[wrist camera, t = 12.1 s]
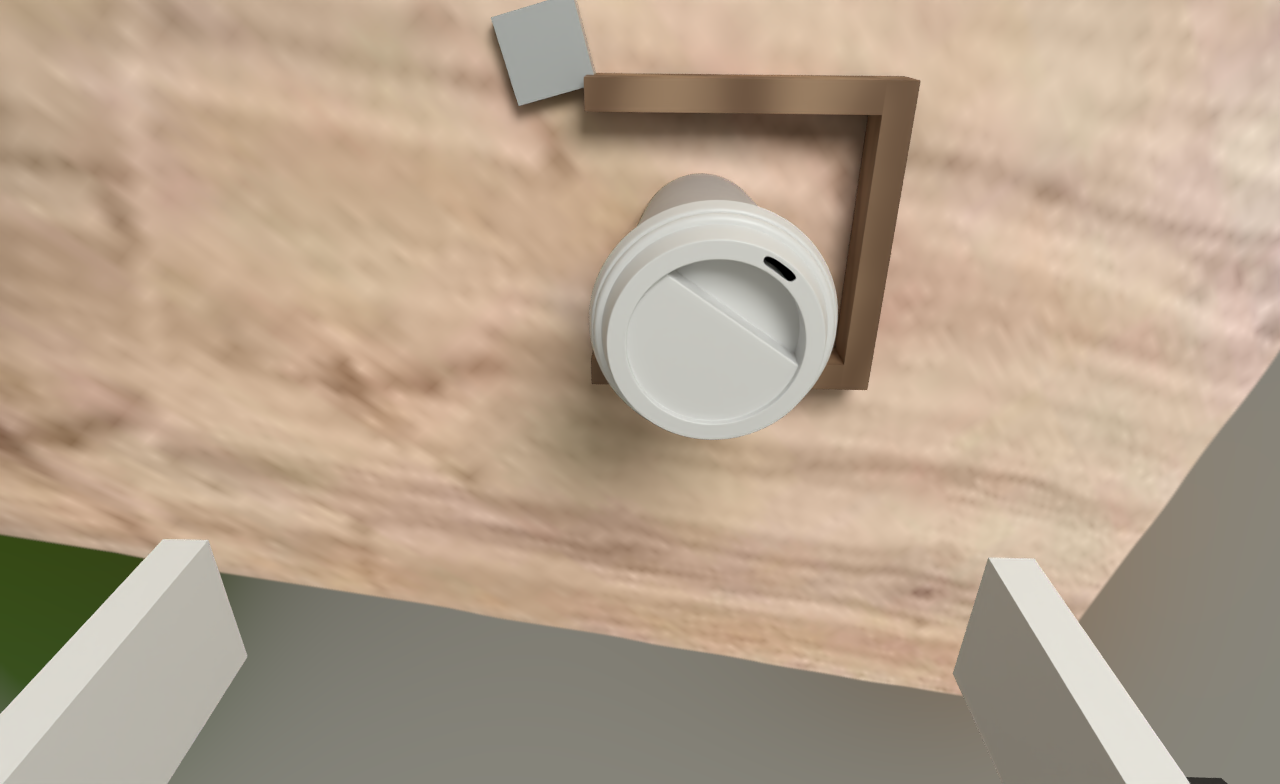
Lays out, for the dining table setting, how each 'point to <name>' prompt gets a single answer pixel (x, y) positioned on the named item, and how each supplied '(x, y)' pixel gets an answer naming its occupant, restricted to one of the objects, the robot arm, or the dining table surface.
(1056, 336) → the dining table surface
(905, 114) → the bracket
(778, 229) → the coffee cup
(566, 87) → the slate tile
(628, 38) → the dining table surface
